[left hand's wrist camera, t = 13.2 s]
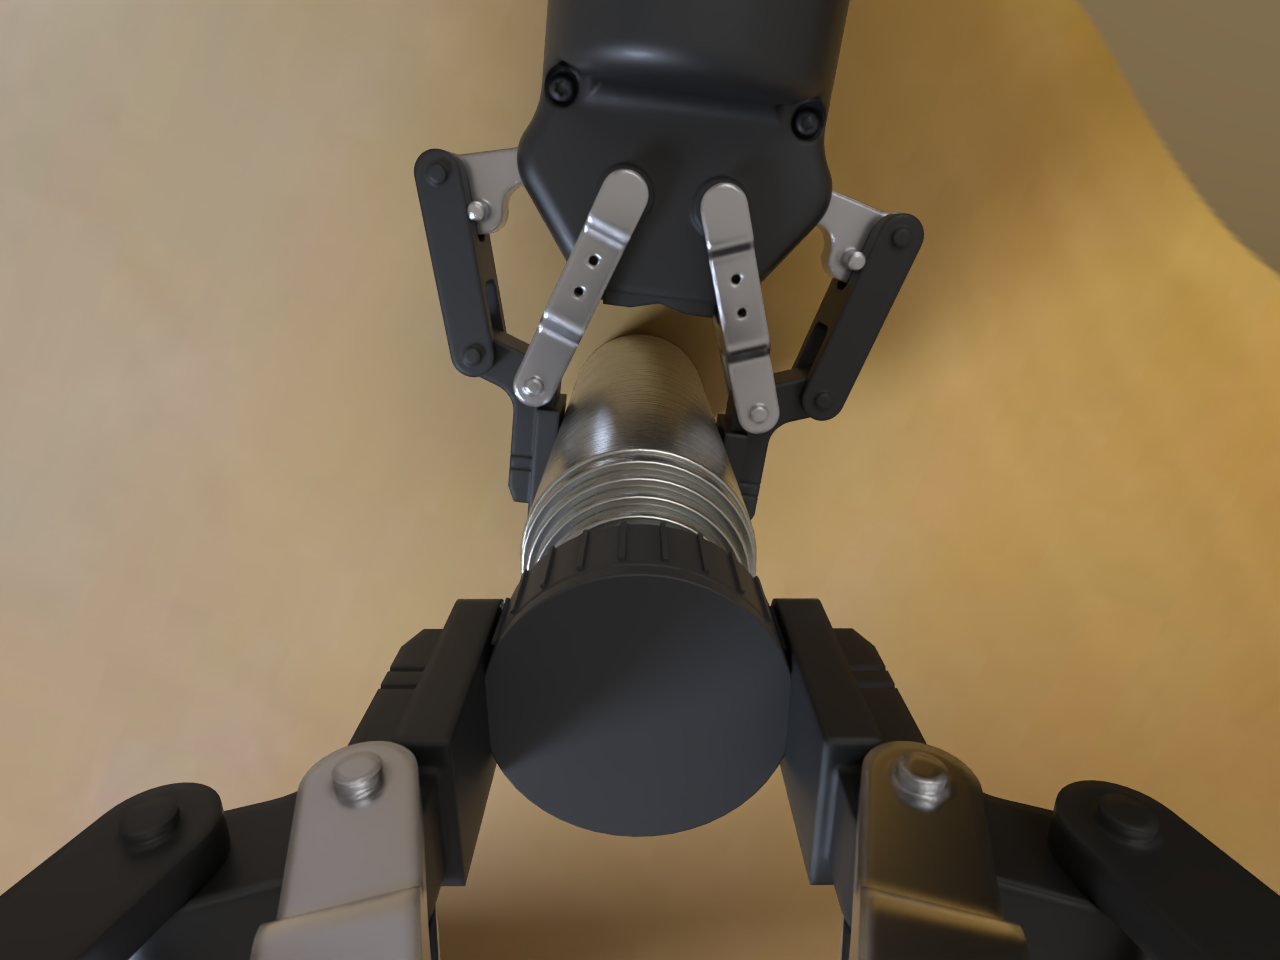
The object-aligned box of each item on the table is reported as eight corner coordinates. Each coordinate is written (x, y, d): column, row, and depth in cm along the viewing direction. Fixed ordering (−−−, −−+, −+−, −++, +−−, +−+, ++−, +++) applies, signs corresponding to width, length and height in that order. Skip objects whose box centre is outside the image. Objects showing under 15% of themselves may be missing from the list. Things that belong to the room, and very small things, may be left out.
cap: (701, 468, 11) (712, 513, 10) (822, 695, 13) (850, 768, 11) (444, 596, 12) (412, 659, 10) (585, 796, 13) (578, 880, 12)
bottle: (675, 313, 28) (739, 499, 10) (720, 431, 29) (843, 771, 12) (554, 363, 28) (415, 618, 11) (604, 475, 30) (555, 861, 12)
